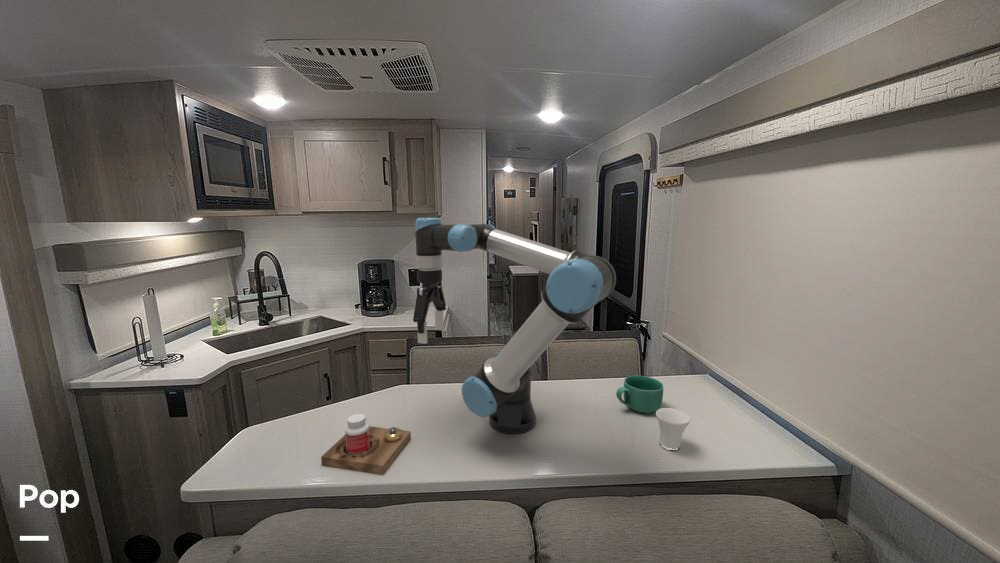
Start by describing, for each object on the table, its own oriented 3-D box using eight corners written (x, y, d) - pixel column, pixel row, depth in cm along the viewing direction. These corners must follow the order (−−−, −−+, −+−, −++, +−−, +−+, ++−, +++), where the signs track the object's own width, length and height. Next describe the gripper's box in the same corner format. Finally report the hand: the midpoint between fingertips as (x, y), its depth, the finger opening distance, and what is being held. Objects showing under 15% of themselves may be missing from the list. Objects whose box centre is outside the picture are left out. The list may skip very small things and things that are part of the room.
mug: (647, 398, 135) (649, 373, 134) (669, 415, 123) (671, 388, 122) (606, 402, 132) (607, 377, 130) (624, 420, 120) (626, 393, 118)
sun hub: (405, 433, 108) (404, 425, 108) (397, 443, 103) (396, 434, 103) (389, 431, 109) (389, 423, 109) (380, 441, 104) (380, 432, 104)
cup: (646, 442, 108) (648, 410, 107) (669, 434, 112) (671, 404, 110) (670, 459, 100) (673, 425, 98) (694, 451, 104) (697, 418, 102)
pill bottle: (373, 456, 101) (370, 419, 100) (349, 464, 98) (346, 426, 96) (367, 445, 107) (365, 409, 105) (345, 452, 103) (342, 416, 102)
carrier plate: (410, 439, 110) (410, 431, 109) (383, 474, 94) (382, 465, 94) (356, 432, 113) (356, 424, 113) (321, 465, 98) (321, 456, 97)
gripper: (433, 264, 124) (435, 324, 128) (398, 274, 100) (402, 348, 104) (454, 264, 123) (455, 325, 126) (424, 275, 99) (426, 350, 102)
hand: (431, 336), depth 115 cm, fingers open, 13 cm apart
